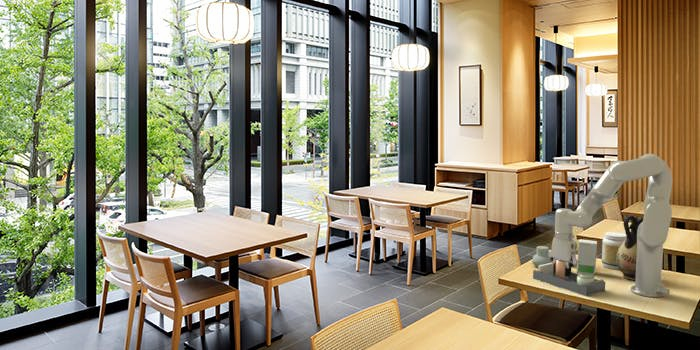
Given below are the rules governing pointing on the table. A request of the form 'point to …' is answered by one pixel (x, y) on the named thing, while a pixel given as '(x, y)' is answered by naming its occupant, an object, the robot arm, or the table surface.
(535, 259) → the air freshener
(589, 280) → the sage ceramic jar
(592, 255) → the skincare box
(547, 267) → the pusher plate
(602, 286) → the grey tray
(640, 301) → the table surface
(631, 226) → the ceramic jug
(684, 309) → the table surface
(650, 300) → the table surface
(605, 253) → the supplement tub
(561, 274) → the terracotta jar
